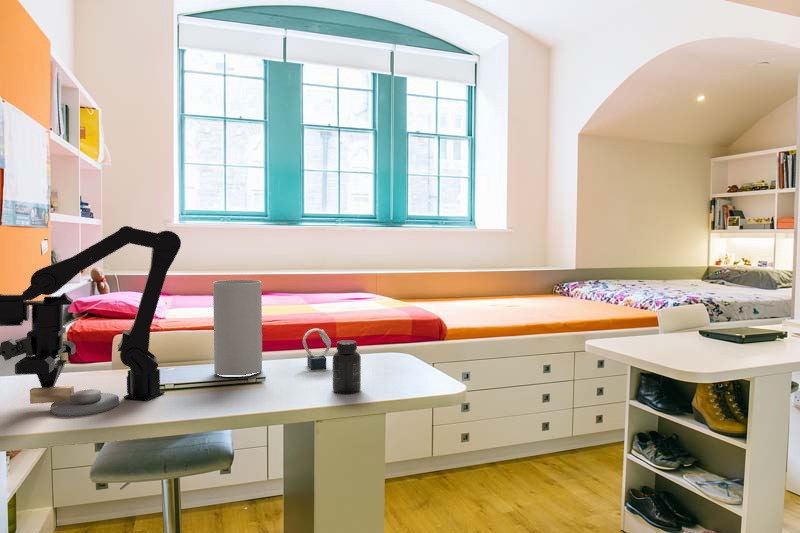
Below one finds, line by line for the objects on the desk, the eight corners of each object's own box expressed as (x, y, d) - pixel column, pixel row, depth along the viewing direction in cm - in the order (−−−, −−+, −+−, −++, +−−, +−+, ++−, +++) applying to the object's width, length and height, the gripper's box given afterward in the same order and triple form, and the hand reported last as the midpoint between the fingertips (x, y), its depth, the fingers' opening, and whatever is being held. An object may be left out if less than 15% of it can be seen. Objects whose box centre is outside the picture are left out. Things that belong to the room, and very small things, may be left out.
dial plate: (132, 400, 127) (131, 394, 127) (87, 419, 115) (87, 412, 114) (84, 396, 130) (84, 390, 130) (35, 413, 118) (35, 407, 118)
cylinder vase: (205, 377, 148) (203, 283, 146) (229, 366, 160) (228, 279, 158) (248, 380, 145) (247, 284, 143) (270, 369, 157) (269, 280, 155)
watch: (333, 368, 158) (333, 329, 158) (304, 370, 156) (304, 331, 155) (328, 363, 164) (328, 326, 163) (301, 365, 161) (301, 328, 160)
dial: (104, 395, 126) (104, 381, 126) (96, 403, 120) (96, 389, 120) (37, 399, 123) (36, 385, 123) (25, 407, 117) (25, 392, 117)
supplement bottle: (356, 385, 141) (357, 338, 140) (363, 393, 134) (363, 343, 133) (330, 387, 138) (330, 340, 138) (335, 395, 132) (335, 345, 131)
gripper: (22, 317, 128) (22, 383, 129) (-16, 333, 110) (-15, 410, 111) (76, 317, 131) (75, 382, 132) (48, 333, 113) (48, 409, 114)
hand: (47, 395), depth 122 cm, fingers closed
